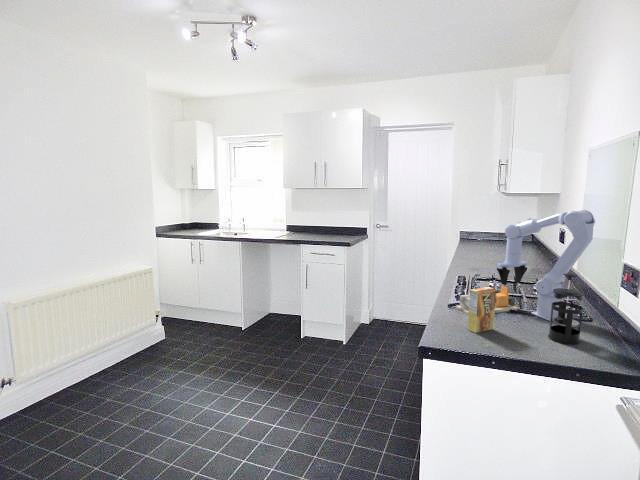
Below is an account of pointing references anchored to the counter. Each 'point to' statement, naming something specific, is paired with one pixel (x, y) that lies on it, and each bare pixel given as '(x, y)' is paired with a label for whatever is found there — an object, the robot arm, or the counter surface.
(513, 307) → the cord rig
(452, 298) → the counter surface
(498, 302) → the orange stepped block
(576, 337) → the french press
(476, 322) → the candy box
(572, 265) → the robot arm
